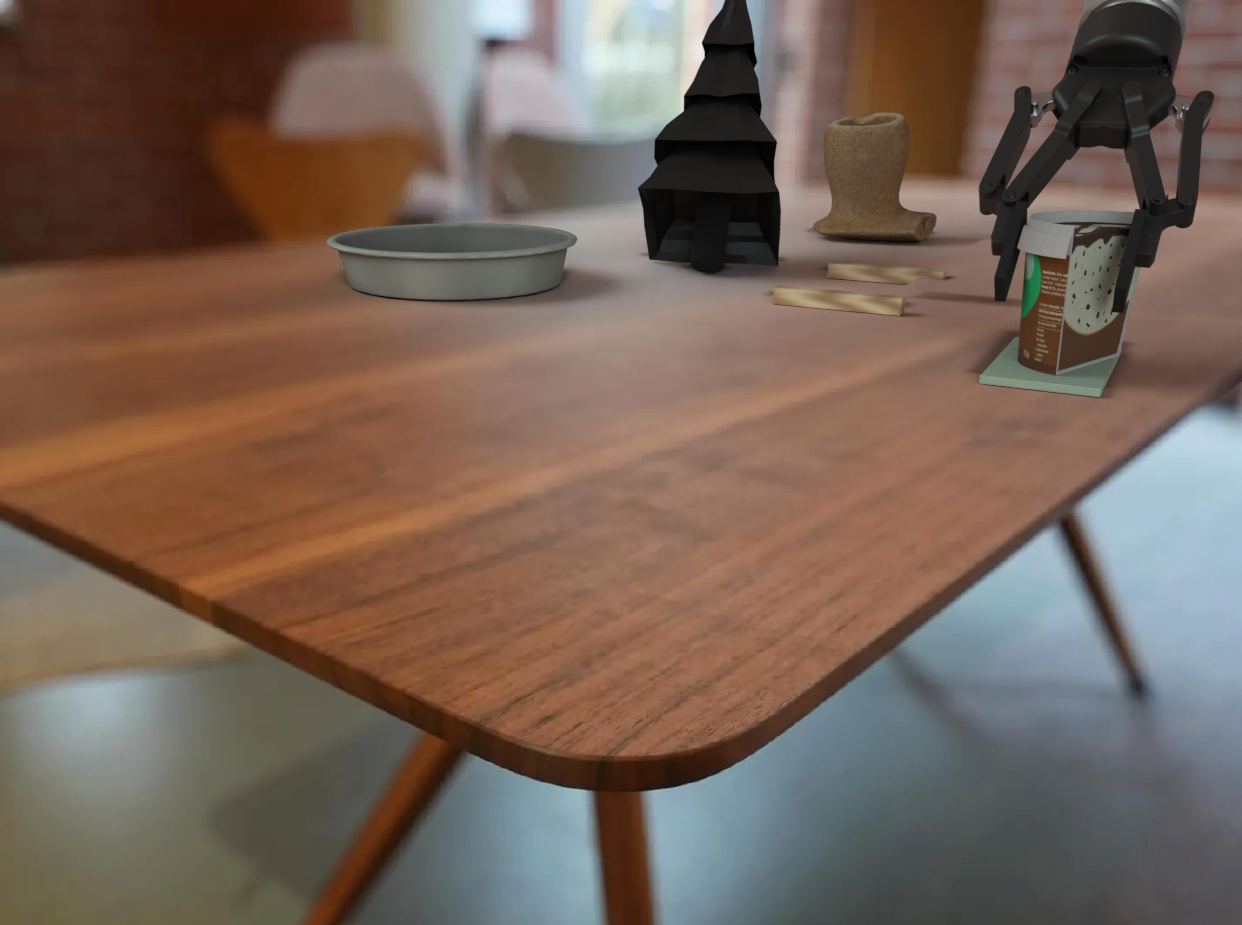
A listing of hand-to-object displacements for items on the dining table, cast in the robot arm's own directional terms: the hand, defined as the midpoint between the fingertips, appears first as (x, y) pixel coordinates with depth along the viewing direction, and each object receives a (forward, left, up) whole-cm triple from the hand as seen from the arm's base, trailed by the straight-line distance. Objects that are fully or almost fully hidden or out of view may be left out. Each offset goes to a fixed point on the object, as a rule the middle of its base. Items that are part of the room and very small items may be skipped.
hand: (1058, 294), depth 81 cm
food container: (0, -4, -5) cm, 7 cm away
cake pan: (+59, -13, -6) cm, 61 cm away
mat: (0, -3, -6) cm, 7 cm away
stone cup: (+31, -67, -6) cm, 74 cm away
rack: (+21, -27, -6) cm, 35 cm away
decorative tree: (+41, -38, -6) cm, 56 cm away
